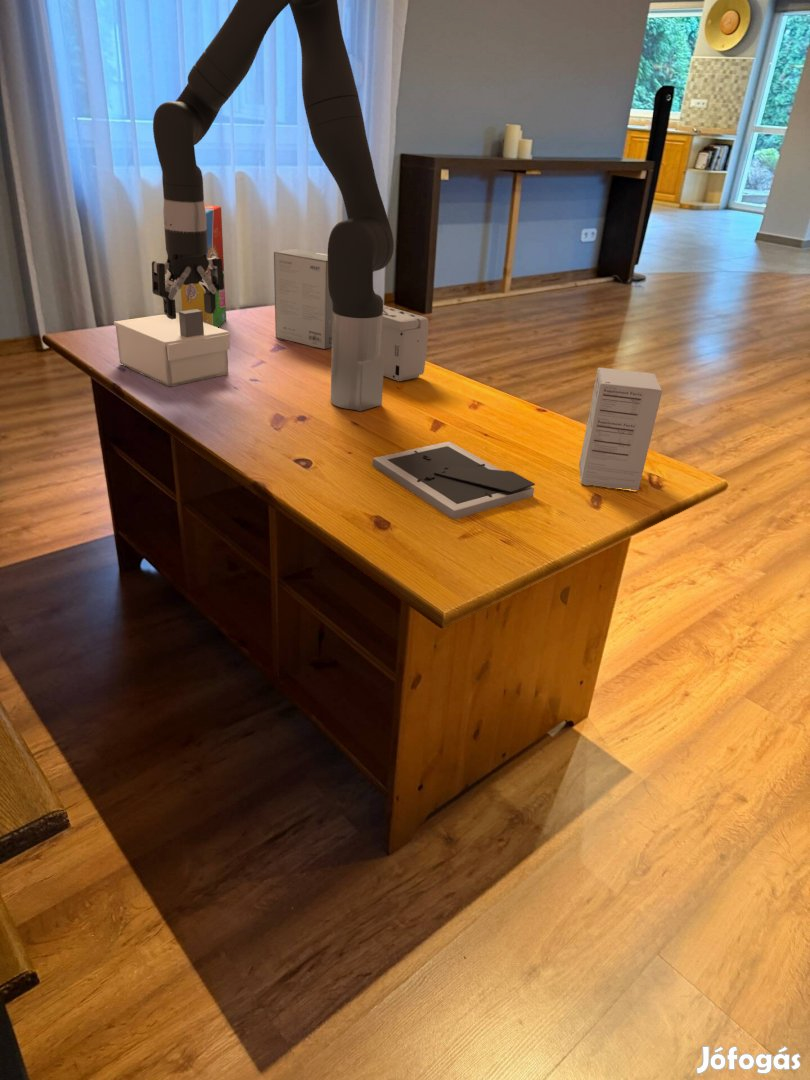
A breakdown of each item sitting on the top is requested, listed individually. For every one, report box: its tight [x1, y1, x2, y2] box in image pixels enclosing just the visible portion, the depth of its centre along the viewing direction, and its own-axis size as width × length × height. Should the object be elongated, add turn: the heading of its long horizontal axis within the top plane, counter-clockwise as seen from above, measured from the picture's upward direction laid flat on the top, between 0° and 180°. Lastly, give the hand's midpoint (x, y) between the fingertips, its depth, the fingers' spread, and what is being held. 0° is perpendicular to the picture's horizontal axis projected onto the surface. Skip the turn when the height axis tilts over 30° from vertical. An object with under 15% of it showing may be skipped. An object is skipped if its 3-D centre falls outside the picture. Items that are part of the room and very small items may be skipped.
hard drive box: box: [273, 248, 333, 350], centre depth 179 cm, size 16×8×20 cm, turn 58°
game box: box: [180, 204, 227, 328], centre depth 180 cm, size 21×6×27 cm, turn 179°
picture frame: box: [372, 441, 536, 520], centre depth 119 cm, size 16×3×21 cm
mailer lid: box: [113, 309, 231, 361], centre depth 153 cm, size 19×15×8 cm
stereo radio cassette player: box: [381, 304, 429, 383], centre depth 163 cm, size 21×8×20 cm, turn 46°
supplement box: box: [578, 367, 663, 491], centre depth 121 cm, size 10×9×17 cm
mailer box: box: [115, 326, 229, 387], centre depth 156 cm, size 18×14×8 cm
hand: (190, 315), depth 148 cm, fingers open, 8 cm apart
